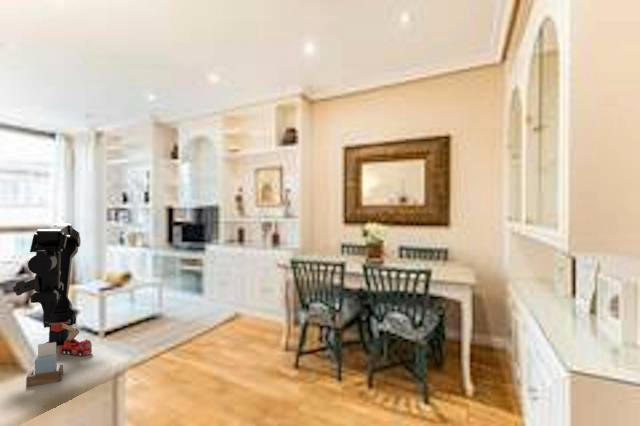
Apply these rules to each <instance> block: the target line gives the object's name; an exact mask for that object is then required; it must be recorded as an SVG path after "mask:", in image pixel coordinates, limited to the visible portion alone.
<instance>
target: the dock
mask: <svg viewBox="0 0 640 426" xmlns="http://www.w3.org/2000/svg"><path fill="white" fill-rule="evenodd" d="M34 371H35V368H32V369H31V368H30V369H29V371H28V374H27V375H26V381H25V383H26V384H25V387H26V388H27V387H32V386H33V387H34V386H39V385H43V384H49V383H56V382H61V381H62V378H63V375H64V364H59V367H58V370H57V371H55V372H48V373H42V374H36V375H34Z"/></svg>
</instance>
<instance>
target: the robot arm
mask: <svg viewBox="0 0 640 426" xmlns="http://www.w3.org/2000/svg"><path fill="white" fill-rule="evenodd" d="M81 241H82V240H81V236H80V232H79V231H78V230H76V229H75V228H74V227H73V224H71V223H55V224H54V226H52V227H51V228H49V229H47V228H45V229H43V228H42V229H41V228H40V229H37V230H36V232H34V233H33V236H32V240H31V245H30V250H29V252H30V253H35V255H34V256H32V257H30V259H29V260H28V263H27V269H28V270H29V271H30V273H33V274H34V277H33V278H32V277H31V278H30V279H26V280H24V279H21V280H20V281H16V283H15V284H13V285H12V288H13V290H12V291H13V293H15V295H16V297H18V296H21V295H23V294H25V293H28V292H30V291H31V292H32V291H34V293H32V294H31V296H30V304H40V305H41V308H42V311H43V315H42V320H43V328H44V329H45V328H49V332H48V341H47V342H45V343H53V342H56V346H63V345H64V341H66V340H67V338H68V336H69V334H70V333H71V331H70V330H68V329H64V330H61V331H58V332H55V331H51V325H54V324H57V323H61V322H67V325H68V326H73V325H76V324H77V314H76V311H75V308H74V307H73V302H71V300H70V299H69V290H70V282H71V281H70V280H71V271H72V263H73V262H72V261H73V258H74V257H75V256H76V255H77V254H78V252H79V248H80V247H81Z"/></svg>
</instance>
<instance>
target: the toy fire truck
mask: <svg viewBox="0 0 640 426" xmlns="http://www.w3.org/2000/svg"><path fill="white" fill-rule="evenodd" d="M64 329H68V330H70V334H69V336H68V338H67V340H66V341H64V345H60V346H59V353H61V354H63V355H66V354H67V356H70V355H75V356H78V357H84V356H87V355H90V354H92V347H93V345H92V342H91V340H90V339H86V338H85V340H81V341H78V339H75V338H76V337H77V335H79V333H80V332H81V331H80V330H79V328H77V327H74V326H72V325H70V326H68V325H67V322H61V323H57V324H54V325H51V331H55V332H58V331H61V330H64Z"/></svg>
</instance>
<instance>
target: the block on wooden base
mask: <svg viewBox="0 0 640 426" xmlns="http://www.w3.org/2000/svg"><path fill="white" fill-rule="evenodd" d="M37 346H38V347H37V355H36V357H35V360H34V375H36V374H42V373H48V372H55V371H58V370H57V367H58V365H57V363H58V354H57V345H56V342H53V343H46V342H45V343H40V344H37Z"/></svg>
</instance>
